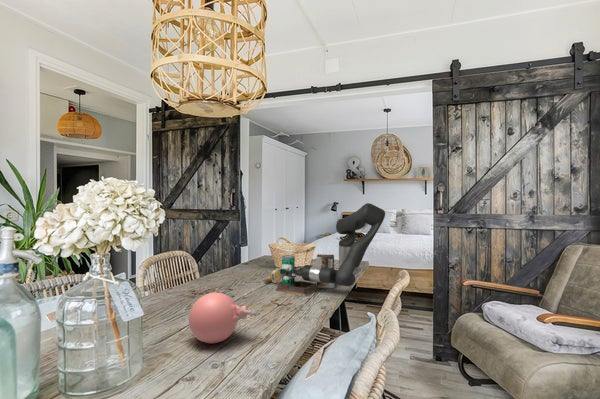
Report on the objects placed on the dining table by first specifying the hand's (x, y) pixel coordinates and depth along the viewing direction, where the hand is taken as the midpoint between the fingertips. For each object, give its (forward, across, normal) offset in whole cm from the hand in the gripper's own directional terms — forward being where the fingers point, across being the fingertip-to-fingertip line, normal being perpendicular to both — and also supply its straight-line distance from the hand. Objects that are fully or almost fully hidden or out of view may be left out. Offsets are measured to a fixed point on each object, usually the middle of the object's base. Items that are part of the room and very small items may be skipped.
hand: (284, 269), depth 165 cm
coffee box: (-16, -14, +10) cm, 24 cm away
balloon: (-15, +61, +10) cm, 64 cm away
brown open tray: (-7, 0, +10) cm, 12 cm away
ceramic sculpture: (+9, -7, +10) cm, 15 cm away
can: (-2, 0, +8) cm, 9 cm away
